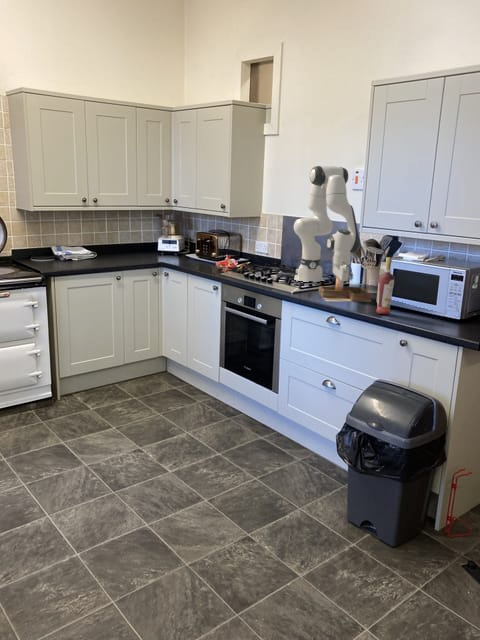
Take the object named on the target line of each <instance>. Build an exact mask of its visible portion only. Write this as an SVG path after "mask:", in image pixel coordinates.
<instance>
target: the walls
mask: <svg viewBox="0 0 480 640" xmlns="http://www.w3.org/2000/svg"><path fill="white" fill-rule="evenodd" d="M318 287H319V288H318V295H319V296H321V298H322V297H323V298H349V299H350V300H351V301H356V302H357V303H359V302H362V303H363V302H366V303H367V302H368V303H370V300H371V301H372V299H371V298H372V294H371V293H370V292H369V291H368V290H366V289H365V288H363V286H343V290H335V287H336V286H332V285H331V286H330V285H329V286H328V285H327V286H322V285H320V286H318ZM323 298H322V299H323ZM356 302H355V303H356Z"/></svg>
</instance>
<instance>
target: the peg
mask: <svg viewBox="0 0 480 640" xmlns="http://www.w3.org/2000/svg"><path fill="white" fill-rule="evenodd" d="M339 283H340V279H339V278H336V277H335V286H334V287H335V290H343V287H344V286H343V287H339Z"/></svg>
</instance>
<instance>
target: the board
mask: <svg viewBox="0 0 480 640" xmlns="http://www.w3.org/2000/svg"><path fill="white" fill-rule="evenodd" d="M321 298H322V299H323V300H324V301H325V302H352V303H353V302H355V303H356V301H351V300H350V299H349V298H323V297H322V296H321ZM370 302H371V303H373V300H372V299H371V300H370ZM370 302H369V303H370Z"/></svg>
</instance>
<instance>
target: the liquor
mask: <svg viewBox="0 0 480 640" xmlns="http://www.w3.org/2000/svg"><path fill="white" fill-rule="evenodd" d="M385 262H386V267H385V272H384V274H381V275H380V276H379V275H378V282H379V288H378V287H377V291H378V303H377V306H376V309H375V312H376V313H377V314H378V313H380V314H388V315H389V314H390V313H391V311H390V309H391V301H392V296H393V289H394V285H395V279H396V277H395V276H394V275H393V273H392V274H391V263H393V257H389V256H388V257H387V256H386V258H385ZM380 314H379V315H380Z"/></svg>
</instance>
